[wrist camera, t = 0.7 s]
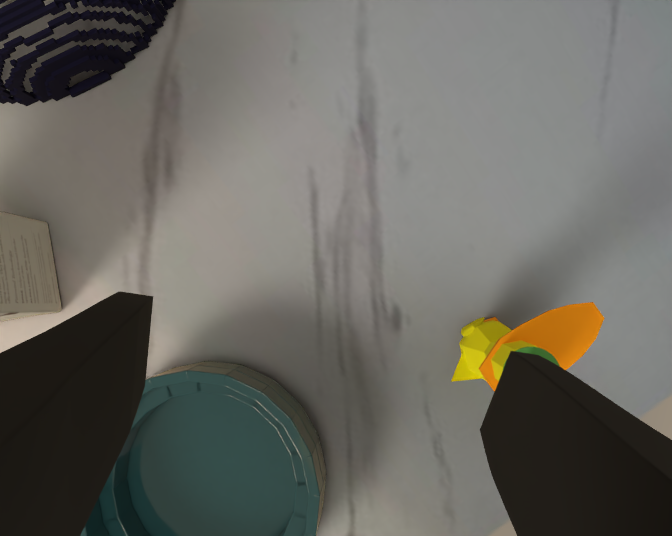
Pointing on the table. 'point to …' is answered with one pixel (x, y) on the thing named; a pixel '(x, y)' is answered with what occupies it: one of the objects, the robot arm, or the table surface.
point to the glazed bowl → (214, 460)
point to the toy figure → (527, 341)
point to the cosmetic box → (26, 269)
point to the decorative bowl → (61, 67)
